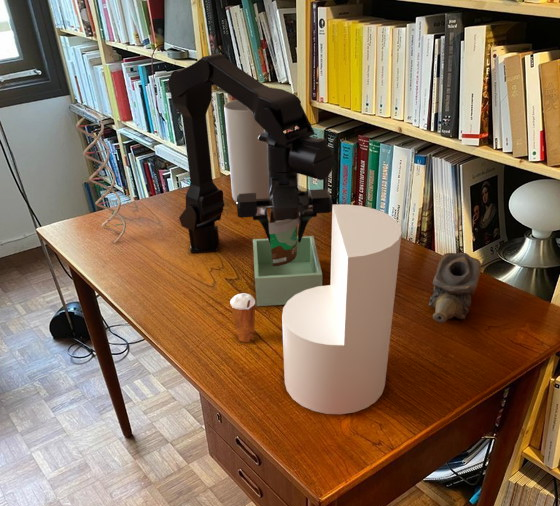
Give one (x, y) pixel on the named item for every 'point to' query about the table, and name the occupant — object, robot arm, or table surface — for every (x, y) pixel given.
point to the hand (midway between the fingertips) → (285, 242)
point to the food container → (283, 239)
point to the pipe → (454, 286)
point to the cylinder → (345, 317)
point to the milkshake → (244, 316)
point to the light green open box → (285, 272)
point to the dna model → (97, 138)
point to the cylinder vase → (246, 152)
